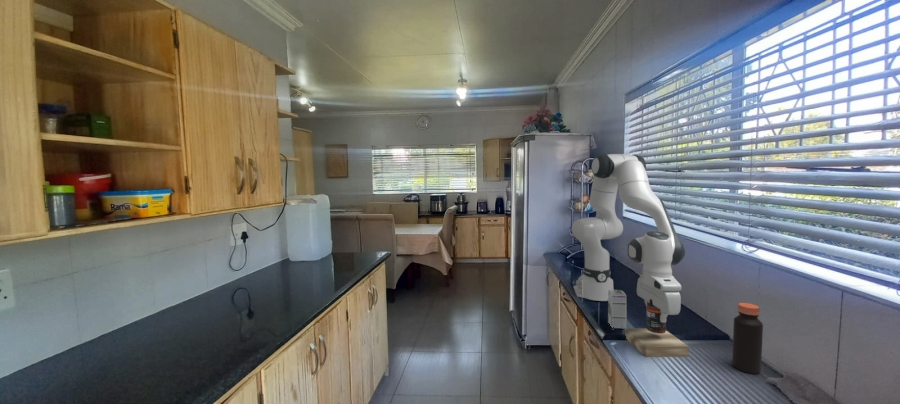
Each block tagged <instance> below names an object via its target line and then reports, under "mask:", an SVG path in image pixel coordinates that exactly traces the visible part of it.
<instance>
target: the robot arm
mask: <svg viewBox="0 0 900 404" xmlns="http://www.w3.org/2000/svg"><path fill="white" fill-rule="evenodd" d="M590 167H591V173H592V175H594V177H593V180H592V185H591V189H590V195H589V201H588V202H589V205H590V207H591V208H593V210H595V214H596V215H595V217H593V216H591V217H582V218H579V219H576V220H574V221H573V223H572V225H571V232H572V235H573V237H574V238H575V239H576V240H578V242H580V244H581V246H582V248H583V252H584V266H583V270H582V274H581V275H580V276H579V277H577V279H576V280H575V285H573V291H574V293H575V295H576V297H578V298H583V299H586V300H590V301H599V302H608V290H614V279H612V278H611V272H612V271H611V268H610V258H611V257H610V253H609V251H608V250H607V249H606V248H604V247H603V246H602V242H601V240H612V239H615V238H617V237H620V236H622V234H623V232H624V224H623V222H622V221H621V219H619V218H618V216H617V214H616V199H617V194H619V197H620V200H621V202H622V204H624V205H625V206H626V207H629V208H630V209H633V210H636V211H640V212H643V213H644V214H647V215H649V216H650V217H651V218H652V219H653V220H654V223H655V225H656V227H657V231H648V232H646V233H645V234H644V236H641V237H635V238H633V239H631V240H630V242H629V243H628V245H627V256H628V258H629V259H630V260H631V261H633V263H636V264H640V265H641V264H643V266H642V271H641V274H640V275H639V277H638V279H637V283H636V284H637V285H636V294H637V296H638V297H640V298H641V299H643V300H644V305H645V307H646V309H647V304H649V303H650V299H651V300H653V305H654V306H655V307H657V308H659V309H660V312H661V315H660V316H659V321H661V322H666V323H667V318H668V316H669V315H670V316H675V315H679V314H680V312H681V305H682V301H681V300H682V298H681V294H680V292H681V291H682V288H683V287H682V285H681V283H680V282H679V281H678V280H677V279H676V278H675V276H673V269H672V266H676V265H678V264H679V263H681V262H682V260H683V259H684V257H685V255H686V250H685V247H684V244H683V243H682V241H681V239H680V238H679V236H678V234H677V232H676V229H675V226H674V224H673V222H672V219H671V217H670V214H669V212H668V209H667V206H666V205H665V203H664V201H663V200H662V198H660V197H658V196H657V195H656V194H655V192H653V190H652V188H651V184H650V182H649V181H650V180H649V176H648V174H647V171H646V170H647V164H646V160H645V158H644V157H643V156H641V155H638V154H627V153H609V154H608V153H603V154H602V153H601V154H597V155H596V156H595V157H593V159H592V162H591V166H590Z"/></svg>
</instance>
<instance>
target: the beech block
mask: <svg viewBox="0 0 900 404" xmlns="http://www.w3.org/2000/svg"><path fill="white" fill-rule="evenodd" d="M624 331H625V335H624V336H626V338H625V339H626V340H627V341H628V342H629V343H630V344H632V346H634V347H635V348H636V349H637V350H638V351H639V352H640V353H641V354H643V356H645V358H689V356H690V355H689V354H690V353H689V352H690V351H689V350H690V346H689V345H688V344H686V343H685V342H683V341H682V340H680V339H679V338H677V337H676V336H675V335H673V334H672V333H670V331H668V330H666V332H665V333H661V334H660V333H653V332H650V331H649V330H647V328H646V327H645V328H644V327H643V328H642V327H641V328H639V327H638V328H637V327H635V328H633V327H632V328H631V327H630V328H628V327H626V328H625V330H624Z"/></svg>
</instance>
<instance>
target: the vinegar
mask: <svg viewBox="0 0 900 404" xmlns="http://www.w3.org/2000/svg"><path fill="white" fill-rule="evenodd" d="M737 311H738V314H739V315H737V316H736V317H734V318H733V335H732V336H733V337H732V361H731V364H732V366H733V367H734V368H735V370H738V371H740V372H743V373H747V374H753V375H757V374H760V373H761V372H762V354H763V352H762V351H763V333H764V332H763V330H764V329H763V328H764V324H763V322H762V321H761V320H760V319H759V318H758V317H759V315H760V307H759V306H758V305H756V304H753V303H748V302H740V303H737Z"/></svg>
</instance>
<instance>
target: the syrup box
mask: <svg viewBox="0 0 900 404" xmlns="http://www.w3.org/2000/svg"><path fill="white" fill-rule="evenodd" d="M627 307H628V305H627V294H626V293H625V292H624V291H623V290H622V289H613V290H608V301H607V324H608V323H609V324H610V326H611V327H612V328H613V327H614V328H627V321H628V320H627V316H628V315H627V312H628V310H627ZM609 324H608V325H609ZM610 326H609V327H610Z"/></svg>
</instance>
